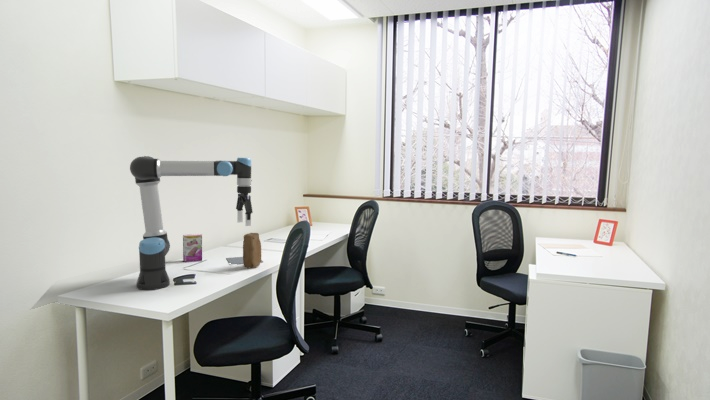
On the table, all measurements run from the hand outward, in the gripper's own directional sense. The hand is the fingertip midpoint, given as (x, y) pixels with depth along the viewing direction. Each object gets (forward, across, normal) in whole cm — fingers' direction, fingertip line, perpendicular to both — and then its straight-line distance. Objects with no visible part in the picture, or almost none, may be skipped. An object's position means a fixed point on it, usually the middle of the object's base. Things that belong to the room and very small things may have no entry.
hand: (243, 224), depth 241 cm
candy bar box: (+29, +44, +18) cm, 55 cm away
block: (+28, +12, -9) cm, 32 cm away
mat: (+28, +29, -10) cm, 42 cm away
